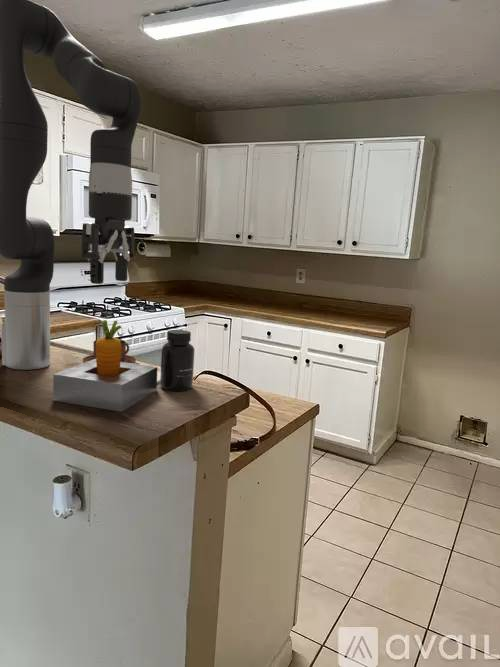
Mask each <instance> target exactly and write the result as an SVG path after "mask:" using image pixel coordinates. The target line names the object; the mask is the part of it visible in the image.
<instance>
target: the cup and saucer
mask: <svg viewBox="0 0 500 667" xmlns="http://www.w3.org/2000/svg"><path fill="white" fill-rule="evenodd" d="M97 340H98V339H95V340H93V354H92V355H91V354H90V355H87V356H85V357H83V358H82V362H83V363H85V362H88V361H91V360H93V359H96V341H97ZM119 340H120V342H121V361H120V362H126V363H133V364H136V360H137V359H136V357H133V356H131V355H127V354H128V353H129V351H130V345H129V344H128V343H127V341H126V340H124V339H119ZM83 363H82V364H83Z"/></svg>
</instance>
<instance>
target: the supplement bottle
mask: <svg viewBox="0 0 500 667" xmlns="http://www.w3.org/2000/svg"><path fill="white" fill-rule="evenodd" d="M191 336H192V333H191V331H190V330H189V331H188V330H186V329H185V330H184V329H169V330H167V336H166V341H167V342H165V343H164V344H163V345H162V347H161V354H160V355H161V356H160V357H161V358H160V360H161V361H160V372H161V374H160V382H159V384H160V387H161V389H163V390H166V391H170V392H184V391H188V390H190V389H191V388H192V387H193V382H194V367H195V347H194V346H193V344H191V343H190V342H191V341H192V337H191Z"/></svg>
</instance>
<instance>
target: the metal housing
mask: <svg viewBox="0 0 500 667" xmlns="http://www.w3.org/2000/svg"><path fill="white" fill-rule="evenodd" d="M157 371H158V366H153V365H145V364H138V363H134V364H133V363H126V362H120V369H119V374H118V375H117V376H115V377H112V376H106V375H99V374H98V371H97V364H96V359H93V360H91V361H88V362H85V363H79V364H78V365H75V366H72V367H69V368H67V369H64V370H61V371H59V372H56V373H54V374H53V375H52V376H53V378H52V380H53V384H52V385H53V386H52V388H53V392H52V393H53V396H52V397H53V399H52V400H53V401H54V402H55V401H56V402H59V403H60V402H61V403H66V404H72V405H78V406H83V407H85V406H86V407H91V408H97V409H102V410H109V411H113V412H121V413H123V412H124V411H126V410H127V409H129V408H131V407H133V406H134V405H136V404H137V403H139V402H140V401H142V400H144V399H146V398H147V397H149V396H150V395H152V394H153V393H155V392H157V388H158V384H157Z"/></svg>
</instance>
